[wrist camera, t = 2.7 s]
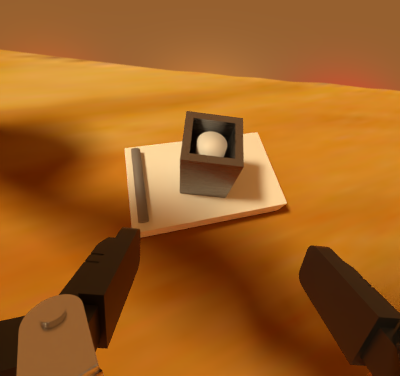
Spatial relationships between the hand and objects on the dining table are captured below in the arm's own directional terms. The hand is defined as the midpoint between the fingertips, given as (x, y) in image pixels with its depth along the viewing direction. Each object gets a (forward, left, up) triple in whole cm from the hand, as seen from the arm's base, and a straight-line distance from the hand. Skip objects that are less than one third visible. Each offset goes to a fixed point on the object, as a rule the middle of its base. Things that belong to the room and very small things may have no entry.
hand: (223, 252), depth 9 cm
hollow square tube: (+3, +11, -14) cm, 18 cm away
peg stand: (+3, +11, -17) cm, 21 cm away
